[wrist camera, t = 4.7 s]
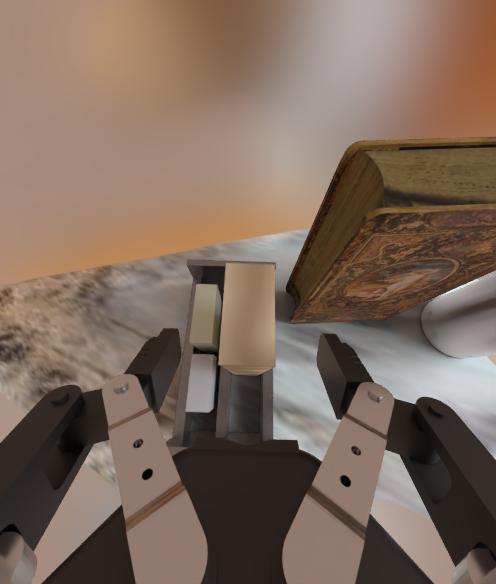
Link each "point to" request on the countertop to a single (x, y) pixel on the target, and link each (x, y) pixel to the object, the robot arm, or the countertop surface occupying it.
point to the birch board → (248, 319)
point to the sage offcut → (206, 318)
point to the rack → (182, 426)
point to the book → (398, 229)
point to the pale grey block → (203, 383)
